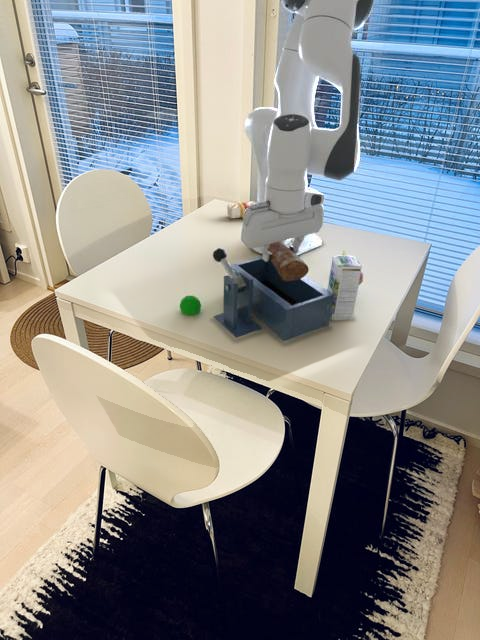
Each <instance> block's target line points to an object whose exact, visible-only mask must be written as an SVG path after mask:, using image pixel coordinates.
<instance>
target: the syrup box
mask: <svg viewBox="0 0 480 640" xmlns="http://www.w3.org/2000/svg"><path fill="white" fill-rule="evenodd" d="M362 269H363V268H362V265H361V263H360V261H359V260H358V259H357V257H356V255H347V254H345V255H343V254H342V255H332V257H331V264H330V271H329V276H328V277H329V278H328V283H327V289H326V290H327V291H329V292H330V293H332V294H333V295H334V296H333V303H332V310H331V317H330V320H332V321H348V320H349V321H351V320H353V317H354V311H355V306H356V301H357V296H358V289H359V286H360V285H359V279H360V274H361V272H362Z"/></svg>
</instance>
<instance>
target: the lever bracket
mask: <svg viewBox="0 0 480 640" xmlns="http://www.w3.org/2000/svg"><path fill="white" fill-rule="evenodd" d="M239 276H241V277H242V278H243V280H244V281H245V283H246V284H247V286H246V288H245V291H244V292H241V293H239V302H238V283H237V282H235V281H234V280H233V279H232V278H230V277H229V275H228V274H226V275H224V276H223V312H222V313H219V314H216V315H214V316H213V318H215V320H216V321H218V323H220V325H222V326H223V327H224V328H225V329H226V330H227V331H228V332H229V333H230V334H232V336H233V337H235V338H239V337H242V336H245V335H249V334H252V333H254V332H257V331H260V330H263V327H262V326H260V325H259V324H258V323H257V322H256V321H255V320H254V319H253V314H252V302H253V278H251V277H250V276H249V275H247V274H246V273H245V272H243V271H241V272H239Z"/></svg>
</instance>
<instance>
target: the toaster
mask: <svg viewBox="0 0 480 640" xmlns="http://www.w3.org/2000/svg"><path fill="white" fill-rule="evenodd" d="M262 257H263V256H259V257H256V258H252V259H248V260H244V261H241V262H236V263H233V264H229V265H230V266H231V268H232V269H233V271H234V273H235V274H236V276H237V277H238V276H239V272H241V271H243V272H245V273H246V274H247V275H249V276H250V277H251V278H253V302H252V316H253V317H255V318H256V319H257V320H258V321H260V322H261V323H262V324H263V325H264V326H266V327H267V328H268V329H270V331H271V332H273V333H274V334H275V335H277V336H278V337H279V338H280V339H281V340H282V341H284V342H285V341H289V340H291V339H293V338H296V337H299V336H303V335H305V334H308V333H311V332H313V331H316V330H319V329H321V328H324V327H327V326H330V322H331V318H330V317H331V310H332V303H333V296H334V295H333V294H332V293H330V292H329V291H327V289H326V288H324V287H322V286H321V285H320V284H318V283H317V282H315V281H314V280H312V279H310V278H309V277H307V275H305V276H304V277H303V278H301V279H299V280H293V281H284V280H283V279H282V278H281V276H280V275H279V273H278V271H277V270H276V268H275V266H274V264H273V263H272V261H267V262H265V261H264V260H263V258H262ZM228 276H229V275H228ZM229 277H230V276H229ZM238 302H239V293H238Z"/></svg>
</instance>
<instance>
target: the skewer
mask: <svg viewBox="0 0 480 640" xmlns="http://www.w3.org/2000/svg"><path fill="white" fill-rule="evenodd" d="M251 204H256V200H255V201H254V200H253V201H251V200H250V201H244V202H237V203H231V204H227V208H226V209H227V210H226V212H227V215H228V217H229V218H230V219H238V218H241V219H243V218H244V211H245V210H246V209H247V208H248V207H249V206H250V205H251ZM249 210H250V209H249Z"/></svg>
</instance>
